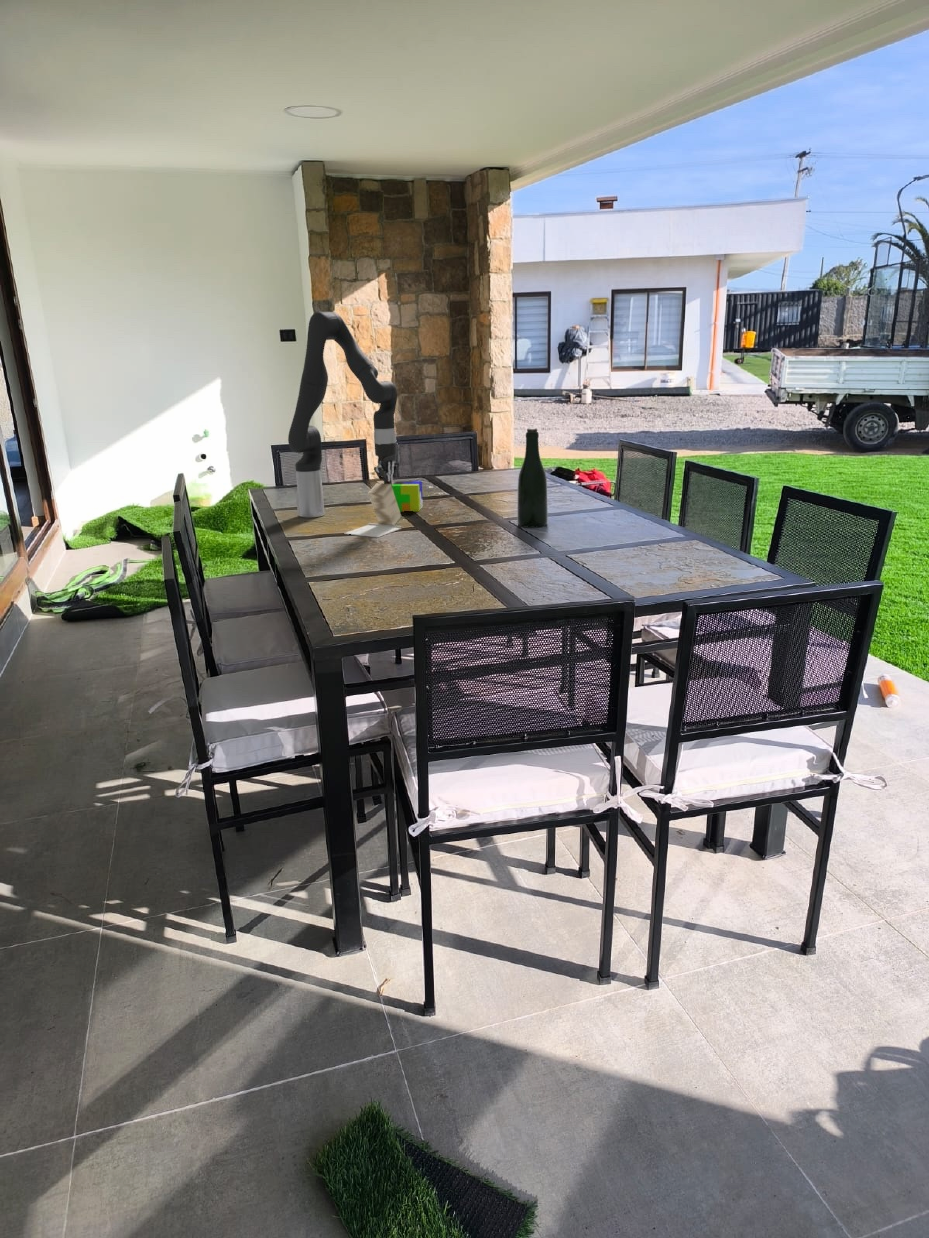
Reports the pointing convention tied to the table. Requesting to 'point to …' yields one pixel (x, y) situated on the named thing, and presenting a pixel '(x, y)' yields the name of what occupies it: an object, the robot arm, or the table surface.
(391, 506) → the maple block
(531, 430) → the green wine bottle
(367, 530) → the mat
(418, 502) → the puzzle toy
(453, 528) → the table surface
